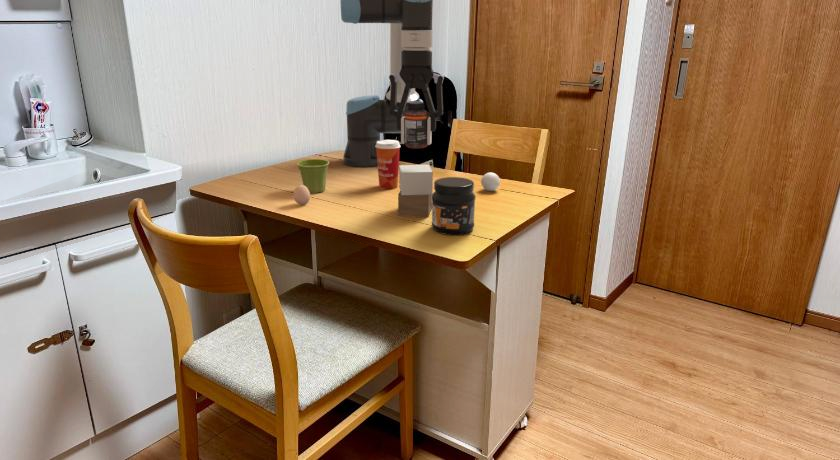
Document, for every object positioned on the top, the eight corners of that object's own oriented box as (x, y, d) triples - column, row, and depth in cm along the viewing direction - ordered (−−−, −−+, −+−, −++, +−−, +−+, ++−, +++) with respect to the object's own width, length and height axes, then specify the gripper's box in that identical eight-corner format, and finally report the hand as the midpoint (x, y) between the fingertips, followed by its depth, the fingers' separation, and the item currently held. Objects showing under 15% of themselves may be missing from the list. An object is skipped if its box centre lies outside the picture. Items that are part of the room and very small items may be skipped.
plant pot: (324, 196, 168) (322, 167, 165) (293, 194, 170) (291, 165, 167) (335, 187, 176) (333, 160, 174) (306, 185, 178) (304, 158, 175)
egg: (291, 204, 160) (290, 184, 158) (306, 201, 163) (305, 182, 161) (298, 208, 157) (297, 188, 155) (313, 205, 159) (312, 185, 158)
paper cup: (370, 186, 178) (369, 141, 173) (388, 182, 183) (388, 138, 178) (388, 191, 173) (387, 145, 168) (406, 186, 178) (406, 141, 173)
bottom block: (403, 207, 159) (403, 186, 157) (432, 208, 158) (432, 187, 156) (398, 216, 152) (398, 194, 150) (428, 217, 151) (428, 195, 148)
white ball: (481, 187, 178) (482, 169, 176) (499, 188, 177) (500, 170, 175) (479, 194, 171) (479, 176, 169) (498, 195, 170) (499, 177, 168)
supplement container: (423, 231, 141) (423, 183, 136) (444, 219, 149) (445, 174, 145) (461, 239, 135) (463, 190, 131) (481, 226, 144) (483, 180, 140)
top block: (399, 186, 156) (399, 165, 154) (428, 186, 157) (428, 164, 155) (401, 195, 149) (401, 172, 147) (432, 194, 149) (432, 171, 147)
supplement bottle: (416, 143, 153) (416, 100, 149) (432, 146, 149) (433, 102, 145) (400, 146, 149) (399, 101, 145) (416, 150, 145) (416, 104, 141)
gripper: (375, 49, 138) (377, 144, 146) (454, 50, 136) (451, 147, 144) (381, 48, 145) (383, 139, 153) (456, 49, 143) (454, 141, 151)
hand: (416, 143), depth 148 cm, fingers closed on supplement bottle, 6 cm apart
